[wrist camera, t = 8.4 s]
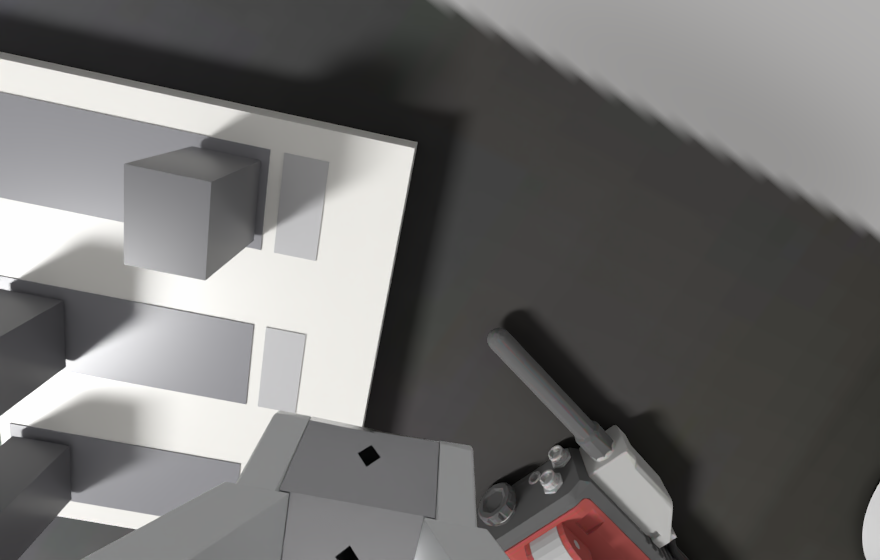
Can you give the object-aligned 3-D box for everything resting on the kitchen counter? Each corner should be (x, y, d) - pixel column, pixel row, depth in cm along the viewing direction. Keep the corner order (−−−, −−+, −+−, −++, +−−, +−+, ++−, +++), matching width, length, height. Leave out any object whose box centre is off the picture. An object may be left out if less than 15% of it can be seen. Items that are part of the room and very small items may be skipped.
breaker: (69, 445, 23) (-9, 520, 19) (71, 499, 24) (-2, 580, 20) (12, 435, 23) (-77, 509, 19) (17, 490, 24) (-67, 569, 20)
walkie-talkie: (744, 561, 29) (508, 303, 24) (794, 643, 24) (521, 350, 19) (609, 636, 31) (366, 414, 26) (634, 722, 27) (350, 478, 22)
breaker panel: (417, 142, 21) (415, 148, 19) (343, 529, 28) (336, 563, 26) (-119, 25, 20) (-180, 20, 18) (-55, 461, 26) (-95, 491, 25)
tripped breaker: (260, 160, 19) (211, 181, 15) (253, 240, 20) (205, 280, 16) (192, 146, 19) (123, 163, 15) (188, 227, 20) (123, 264, 16)
